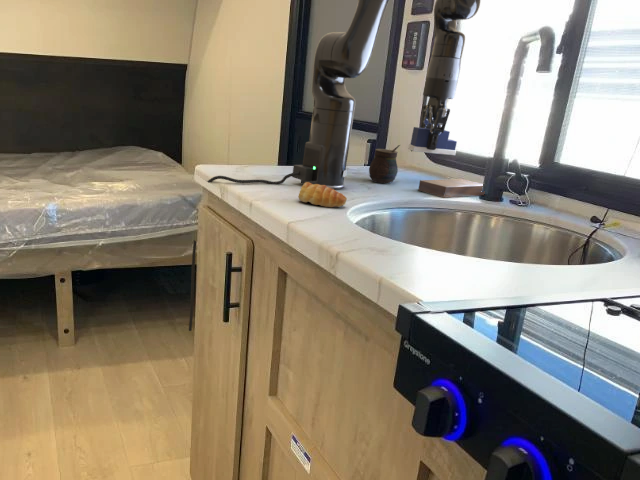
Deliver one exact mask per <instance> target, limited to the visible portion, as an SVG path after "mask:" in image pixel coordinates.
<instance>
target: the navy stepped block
mask: <svg viewBox="0 0 640 480" xmlns="http://www.w3.org/2000/svg"><path fill="white" fill-rule="evenodd" d="M450 132H451V131H449V130H445V129H444V132H443V133H440V135H439V136H438V141H437V146H436V149H435V150H429V149H427V143H428V138H429V134H430V129H429V128H421V127H417V126H413V128H412V134H411V139H410V143H409V144H408V147H407V148H408V150H409V151H411V152H415V153H417V152H418V153H427V154H437V155H449V156H456V154H457V150H456V148H457V144H458V141H457V140H454V139H449V137H450V134H451V133H450Z"/></svg>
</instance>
